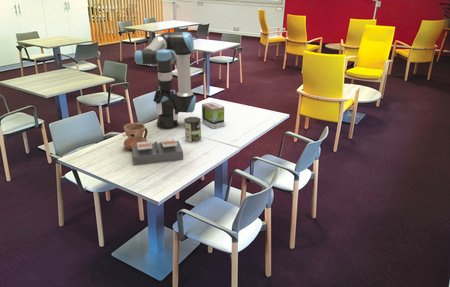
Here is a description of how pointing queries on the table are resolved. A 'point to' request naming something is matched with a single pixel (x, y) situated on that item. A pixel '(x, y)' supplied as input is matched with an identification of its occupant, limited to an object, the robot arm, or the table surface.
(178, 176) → the table surface
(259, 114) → the table surface
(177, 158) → the breaker panel
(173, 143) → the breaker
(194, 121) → the coffee can
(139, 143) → the breaker
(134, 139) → the ceramic jug
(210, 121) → the tea box
